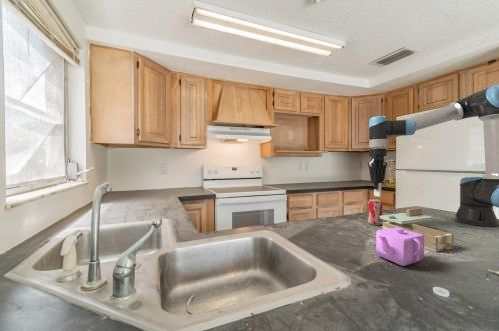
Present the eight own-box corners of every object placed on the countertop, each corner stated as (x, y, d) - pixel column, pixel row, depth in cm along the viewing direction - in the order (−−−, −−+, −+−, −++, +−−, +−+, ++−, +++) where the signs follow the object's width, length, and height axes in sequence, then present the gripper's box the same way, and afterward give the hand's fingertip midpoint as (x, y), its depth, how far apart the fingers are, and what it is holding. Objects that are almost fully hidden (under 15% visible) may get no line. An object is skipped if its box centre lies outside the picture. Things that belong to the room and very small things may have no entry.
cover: (401, 224, 90) (401, 214, 90) (379, 218, 99) (379, 209, 99) (433, 219, 97) (433, 210, 97) (409, 214, 106) (409, 205, 106)
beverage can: (370, 225, 106) (370, 201, 106) (366, 222, 112) (366, 198, 112) (384, 226, 105) (384, 201, 105) (379, 222, 111) (379, 199, 111)
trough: (398, 231, 97) (398, 220, 97) (453, 248, 79) (453, 234, 78) (382, 234, 94) (382, 222, 94) (435, 252, 75) (435, 237, 75)
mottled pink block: (400, 275, 60) (400, 239, 60) (357, 255, 73) (357, 225, 72) (438, 263, 67) (438, 230, 67) (392, 247, 80) (393, 219, 80)
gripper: (377, 149, 114) (377, 194, 115) (362, 148, 108) (362, 196, 108) (393, 148, 108) (392, 195, 108) (377, 147, 101) (377, 198, 102)
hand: (377, 196), depth 108 cm, fingers closed
